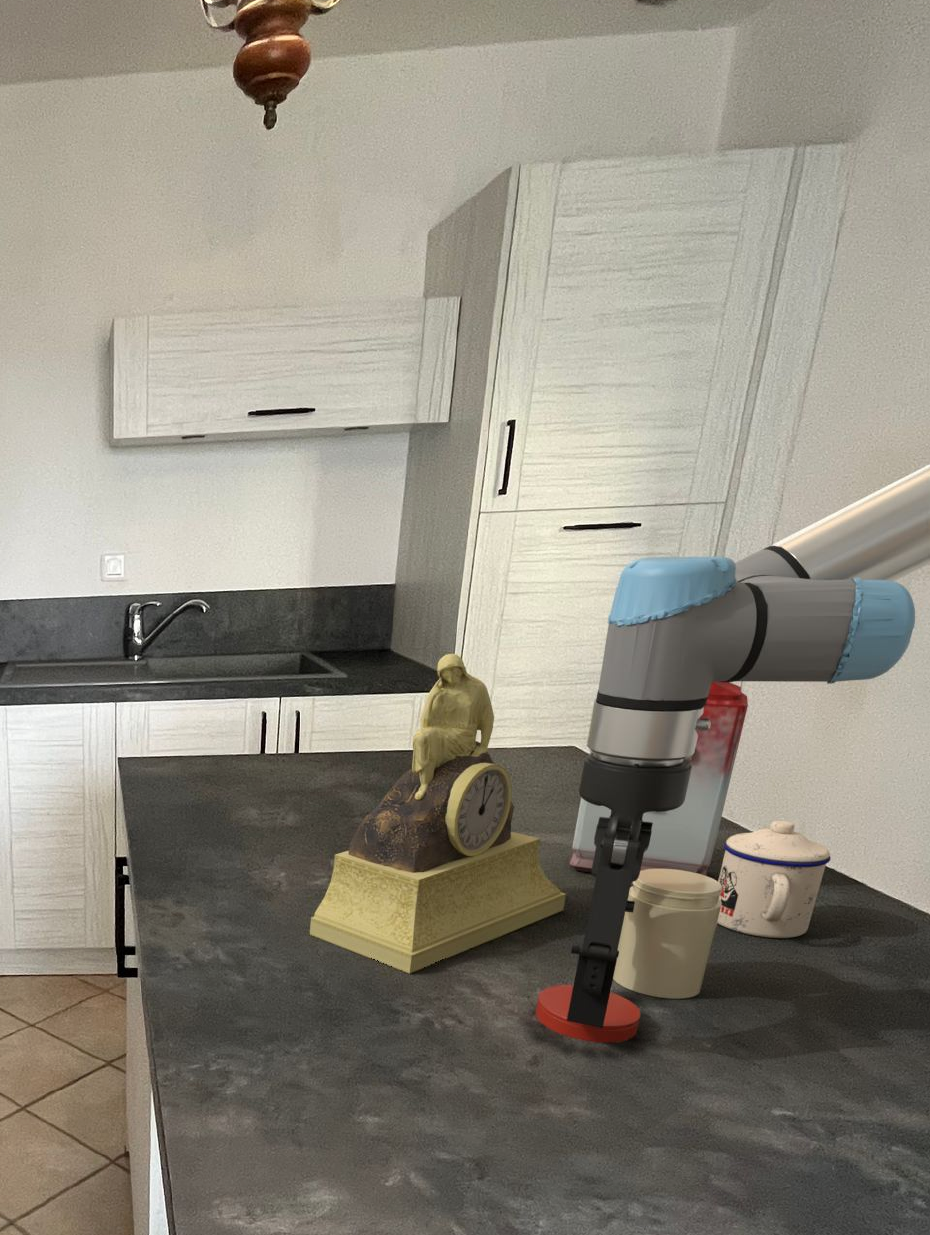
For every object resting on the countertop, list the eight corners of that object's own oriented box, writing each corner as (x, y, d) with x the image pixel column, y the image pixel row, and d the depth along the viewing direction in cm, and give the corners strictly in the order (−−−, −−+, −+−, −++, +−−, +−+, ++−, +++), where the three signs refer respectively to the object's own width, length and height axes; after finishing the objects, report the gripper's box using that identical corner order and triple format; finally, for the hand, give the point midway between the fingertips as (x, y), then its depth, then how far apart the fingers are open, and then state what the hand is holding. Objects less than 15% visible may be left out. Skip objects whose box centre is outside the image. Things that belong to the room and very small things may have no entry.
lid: (514, 1012, 91) (517, 994, 91) (578, 996, 94) (582, 978, 93) (590, 1052, 84) (594, 1033, 84) (657, 1033, 87) (662, 1014, 86)
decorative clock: (409, 973, 99) (446, 674, 89) (309, 934, 109) (331, 662, 99) (563, 910, 113) (611, 645, 102) (461, 880, 123) (495, 636, 113)
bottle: (566, 873, 124) (610, 631, 113) (576, 851, 132) (618, 622, 121) (704, 893, 116) (765, 634, 106) (705, 868, 124) (763, 624, 113)
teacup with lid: (702, 904, 113) (725, 807, 109) (801, 915, 109) (828, 815, 105) (714, 942, 103) (740, 837, 99) (822, 956, 99) (854, 848, 95)
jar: (700, 975, 96) (724, 874, 93) (700, 1005, 91) (726, 899, 87) (613, 960, 100) (633, 862, 97) (608, 988, 95) (629, 886, 91)
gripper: (693, 792, 70) (632, 1065, 78) (694, 733, 87) (644, 961, 95) (573, 781, 74) (527, 1041, 82) (596, 727, 91) (556, 946, 99)
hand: (589, 998), depth 88 cm, fingers open, 10 cm apart
